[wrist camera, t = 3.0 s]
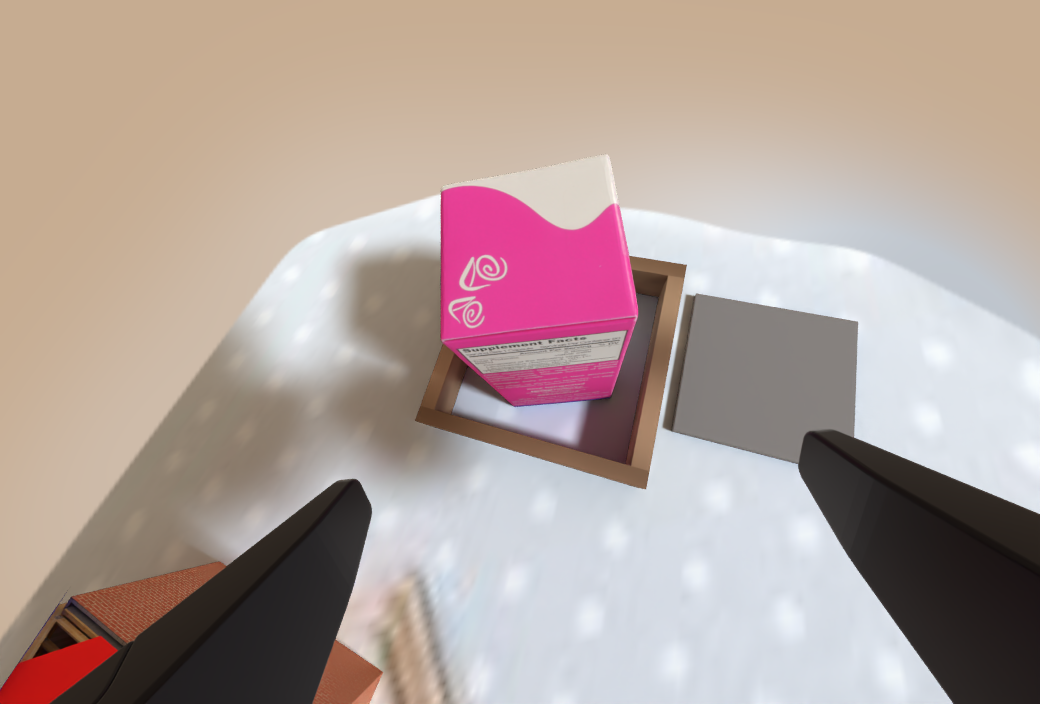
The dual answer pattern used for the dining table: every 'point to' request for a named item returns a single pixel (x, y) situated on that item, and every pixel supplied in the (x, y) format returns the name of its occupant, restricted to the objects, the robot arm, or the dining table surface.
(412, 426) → the dining table surface
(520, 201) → the supplement box
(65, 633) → the house
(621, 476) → the walnut crate
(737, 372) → the gray mat
